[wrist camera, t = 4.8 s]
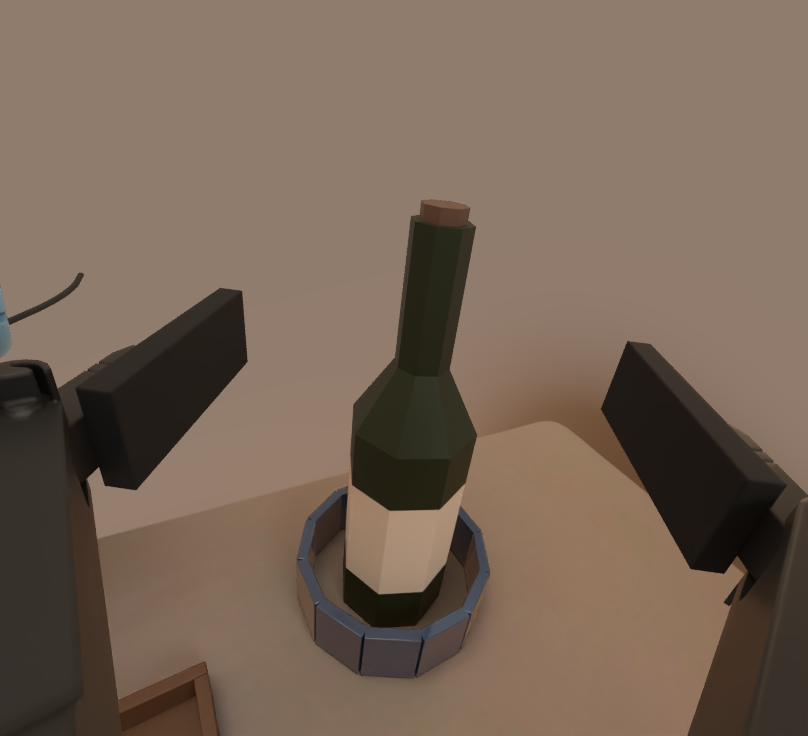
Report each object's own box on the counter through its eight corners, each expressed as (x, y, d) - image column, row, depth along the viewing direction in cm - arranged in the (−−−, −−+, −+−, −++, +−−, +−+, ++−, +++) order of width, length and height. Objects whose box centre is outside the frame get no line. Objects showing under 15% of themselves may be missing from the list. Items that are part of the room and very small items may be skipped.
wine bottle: (322, 610, 34) (335, 201, 19) (359, 528, 41) (389, 185, 26) (427, 646, 32) (528, 232, 18) (446, 554, 39) (530, 206, 25)
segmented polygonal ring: (277, 545, 38) (275, 508, 36) (417, 494, 45) (423, 461, 43) (343, 721, 28) (346, 685, 25) (513, 619, 35) (527, 584, 32)
